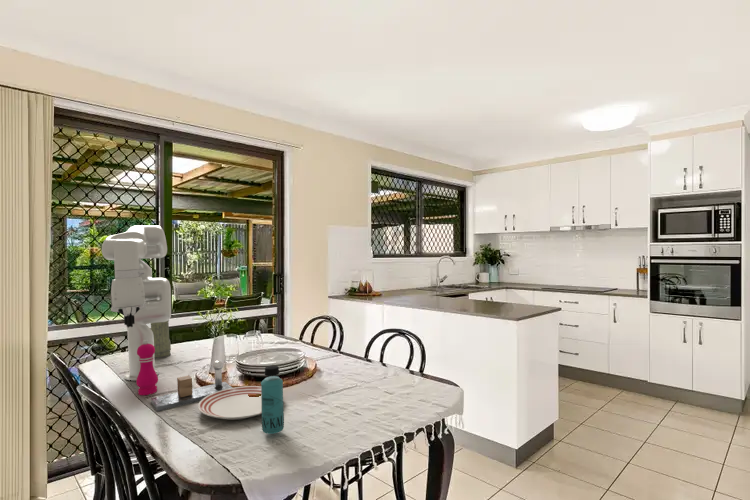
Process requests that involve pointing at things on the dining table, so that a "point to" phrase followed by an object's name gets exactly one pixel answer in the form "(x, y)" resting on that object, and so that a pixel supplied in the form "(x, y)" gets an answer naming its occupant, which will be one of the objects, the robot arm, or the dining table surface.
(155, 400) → the plate
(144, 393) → the pepper mill
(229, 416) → the dinner plate
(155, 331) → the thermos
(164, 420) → the dining table surface
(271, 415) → the beverage bottle
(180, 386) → the block
